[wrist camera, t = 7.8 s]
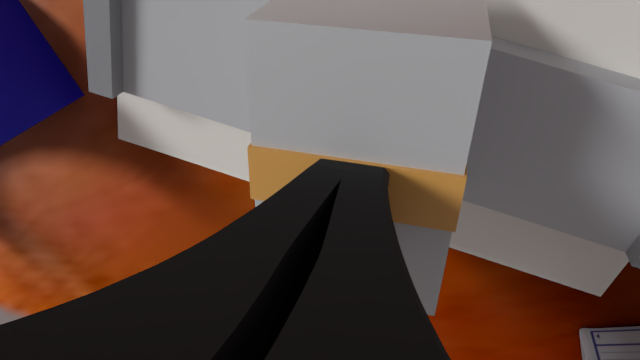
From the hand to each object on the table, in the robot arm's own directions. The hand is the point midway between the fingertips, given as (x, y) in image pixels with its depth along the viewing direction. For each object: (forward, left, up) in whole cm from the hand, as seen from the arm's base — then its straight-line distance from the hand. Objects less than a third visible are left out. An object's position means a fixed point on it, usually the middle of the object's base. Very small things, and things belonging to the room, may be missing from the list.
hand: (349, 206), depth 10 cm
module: (0, 0, -5) cm, 5 cm away
